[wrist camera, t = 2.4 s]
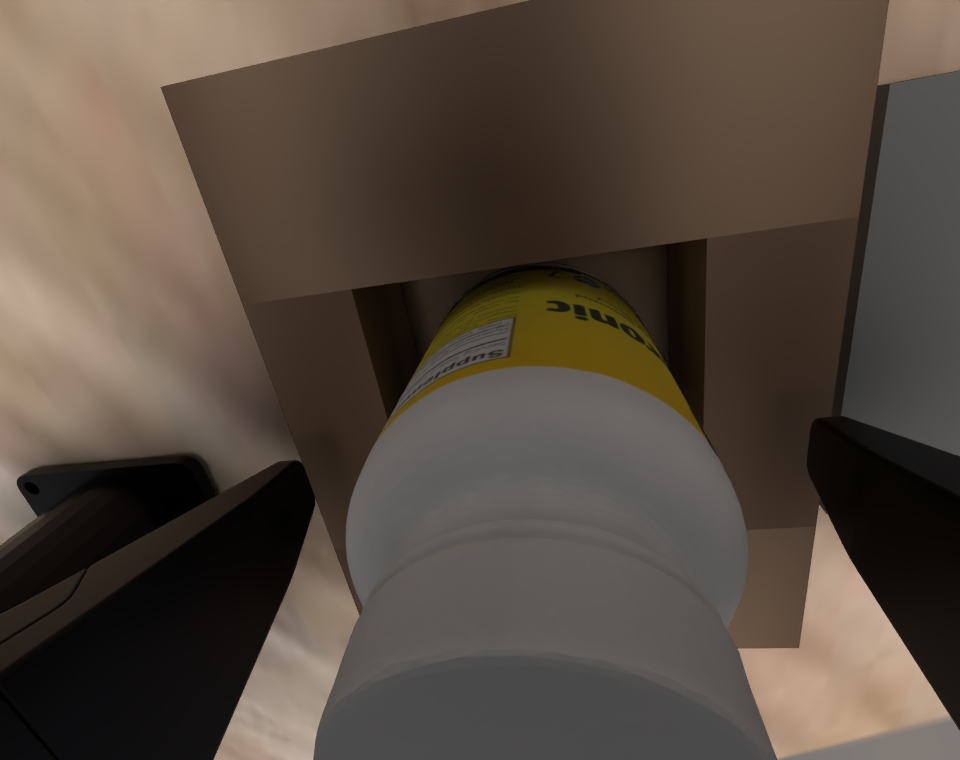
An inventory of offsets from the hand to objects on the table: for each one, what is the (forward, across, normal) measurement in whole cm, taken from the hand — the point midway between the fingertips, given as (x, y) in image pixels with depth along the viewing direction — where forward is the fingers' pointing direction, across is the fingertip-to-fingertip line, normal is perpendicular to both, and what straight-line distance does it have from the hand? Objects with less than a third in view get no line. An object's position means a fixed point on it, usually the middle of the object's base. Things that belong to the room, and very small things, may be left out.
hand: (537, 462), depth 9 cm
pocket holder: (+4, 0, 0) cm, 4 cm away
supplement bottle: (+5, 0, 0) cm, 5 cm away
